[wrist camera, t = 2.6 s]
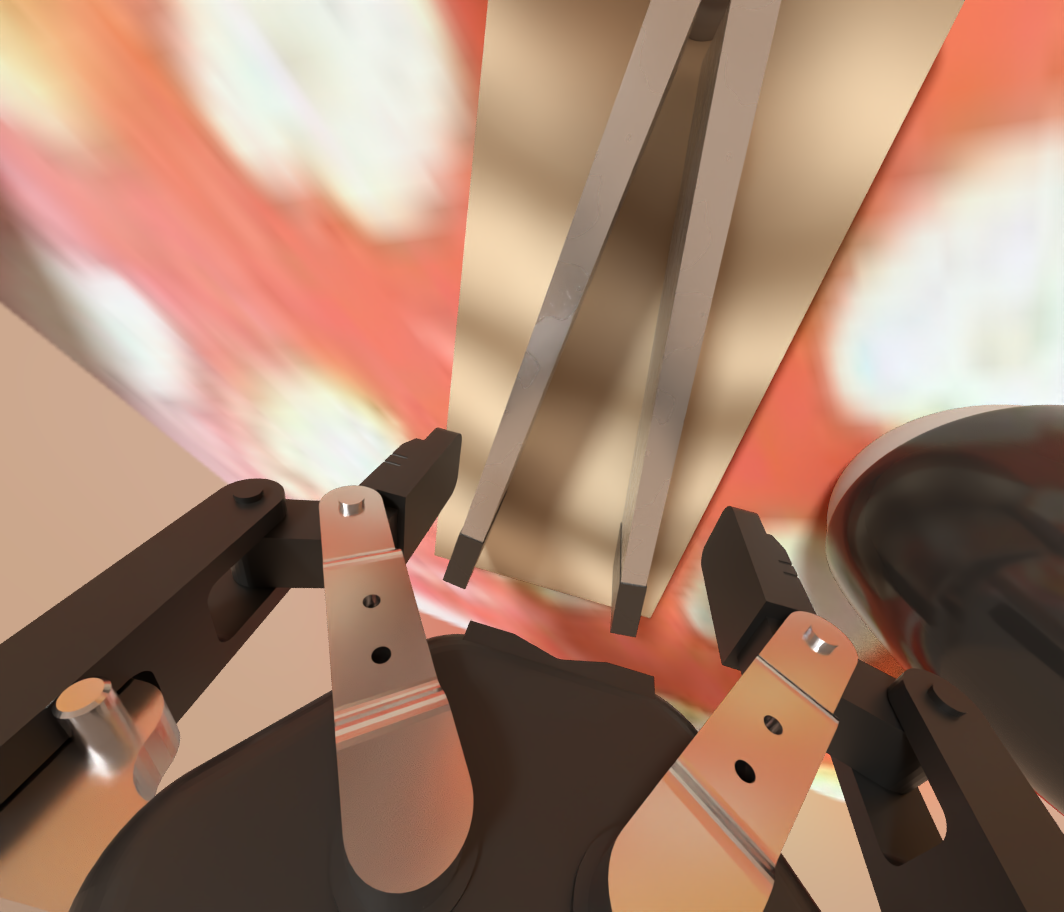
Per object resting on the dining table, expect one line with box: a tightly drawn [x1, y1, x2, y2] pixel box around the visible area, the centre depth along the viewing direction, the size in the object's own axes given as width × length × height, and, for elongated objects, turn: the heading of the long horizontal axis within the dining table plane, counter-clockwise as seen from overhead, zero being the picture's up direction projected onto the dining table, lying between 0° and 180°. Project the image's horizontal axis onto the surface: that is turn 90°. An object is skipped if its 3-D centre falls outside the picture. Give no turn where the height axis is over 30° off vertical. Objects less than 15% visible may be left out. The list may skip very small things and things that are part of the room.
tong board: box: [435, 0, 965, 618], centre depth 17 cm, size 26×13×6 cm, turn 169°
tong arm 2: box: [610, 0, 781, 637], centre depth 15 cm, size 20×1×4 cm, turn 178°
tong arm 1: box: [443, 0, 701, 589], centre depth 16 cm, size 20×1×4 cm, turn 160°
